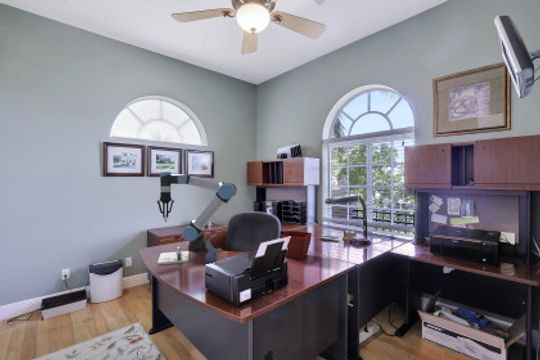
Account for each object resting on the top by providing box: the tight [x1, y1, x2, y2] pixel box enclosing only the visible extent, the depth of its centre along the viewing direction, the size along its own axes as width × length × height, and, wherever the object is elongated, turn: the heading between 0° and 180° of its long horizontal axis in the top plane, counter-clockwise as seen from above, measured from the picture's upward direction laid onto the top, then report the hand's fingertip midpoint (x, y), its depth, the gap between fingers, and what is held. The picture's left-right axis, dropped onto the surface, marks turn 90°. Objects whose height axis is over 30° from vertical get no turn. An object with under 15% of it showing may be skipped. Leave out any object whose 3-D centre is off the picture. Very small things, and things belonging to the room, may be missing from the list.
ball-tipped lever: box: [175, 246, 182, 260], centre depth 184 cm, size 19×4×4 cm, turn 20°
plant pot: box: [279, 230, 313, 260], centre depth 193 cm, size 19×19×17 cm
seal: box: [204, 233, 223, 264], centre depth 175 cm, size 8×12×20 cm
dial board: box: [156, 250, 190, 266], centre depth 185 cm, size 20×22×2 cm
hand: (165, 221), depth 197 cm, fingers closed
